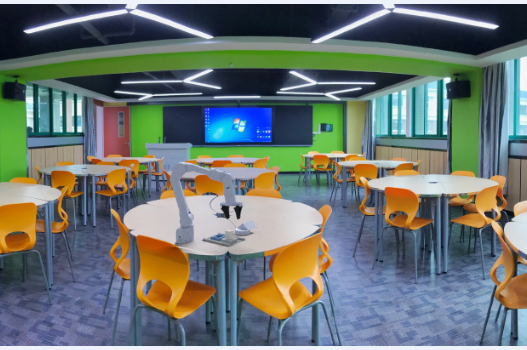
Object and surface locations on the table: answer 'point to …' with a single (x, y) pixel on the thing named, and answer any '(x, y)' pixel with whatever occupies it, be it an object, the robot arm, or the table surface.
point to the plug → (229, 235)
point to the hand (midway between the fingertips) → (233, 218)
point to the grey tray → (224, 240)
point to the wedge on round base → (245, 228)
